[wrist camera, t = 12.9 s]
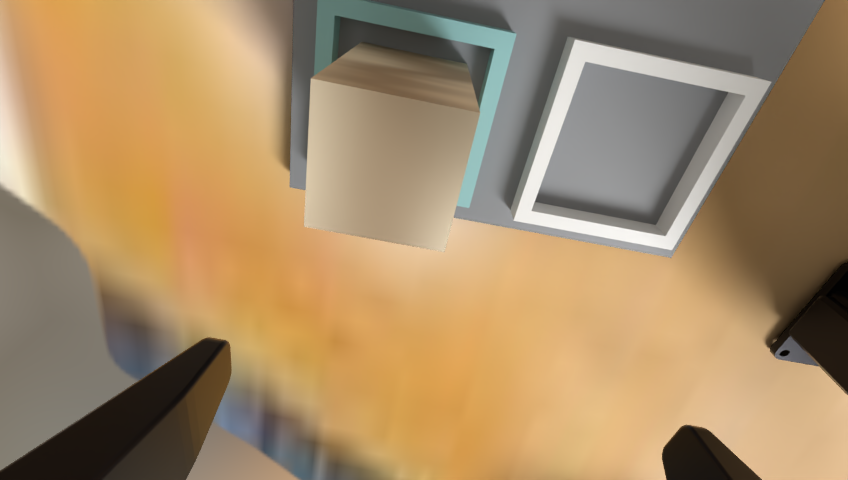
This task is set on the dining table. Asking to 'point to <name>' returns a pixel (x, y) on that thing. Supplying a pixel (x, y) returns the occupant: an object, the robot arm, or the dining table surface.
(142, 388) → the robot arm
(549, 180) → the grey shape sorting board
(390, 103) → the block
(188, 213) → the dining table surface
